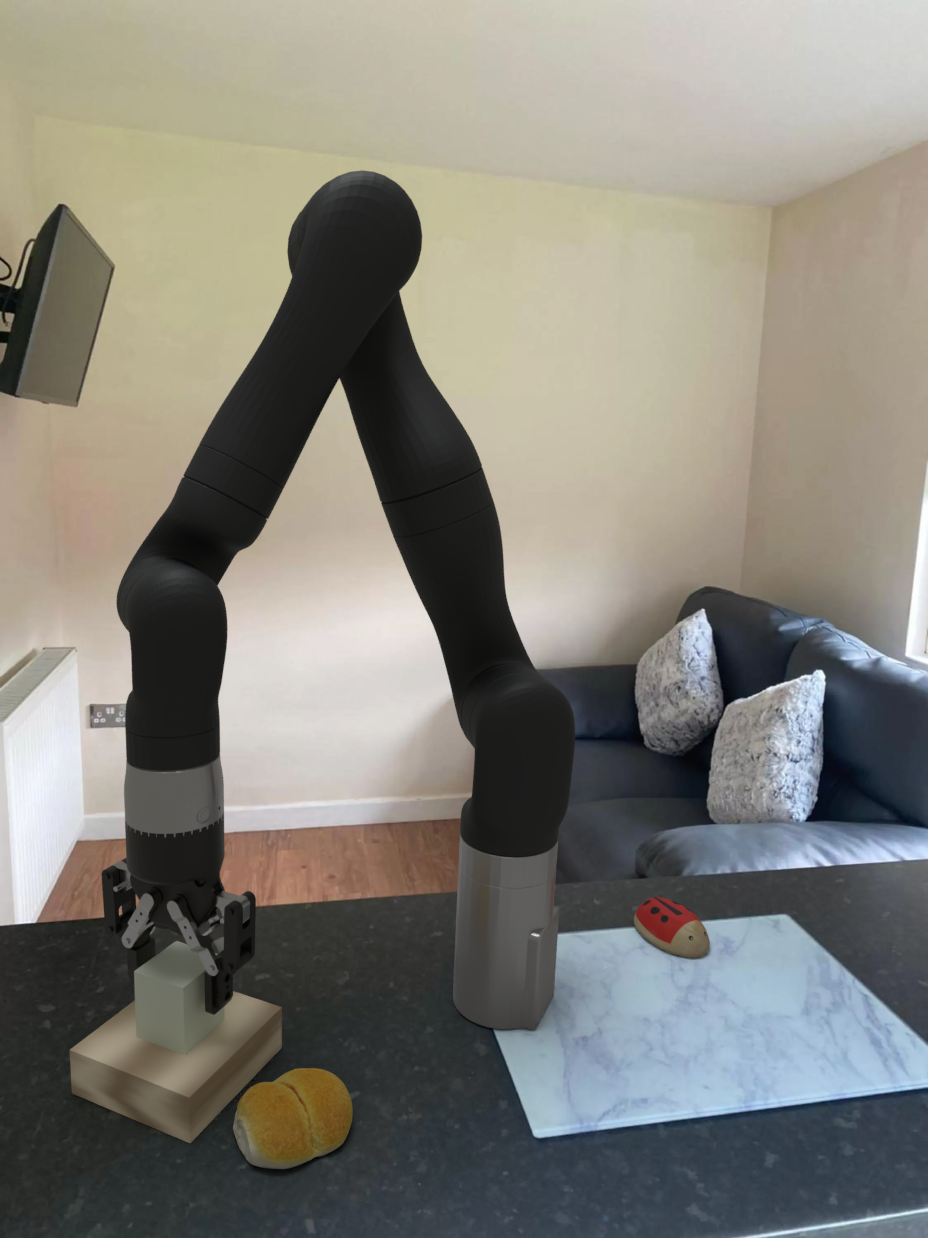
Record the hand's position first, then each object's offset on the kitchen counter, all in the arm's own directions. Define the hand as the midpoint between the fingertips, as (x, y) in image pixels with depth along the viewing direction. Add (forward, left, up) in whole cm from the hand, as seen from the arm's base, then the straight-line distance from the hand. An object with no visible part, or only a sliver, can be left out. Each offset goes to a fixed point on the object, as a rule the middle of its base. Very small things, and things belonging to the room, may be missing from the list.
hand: (179, 995), depth 72 cm
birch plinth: (0, 0, -7) cm, 7 cm away
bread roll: (-12, +2, -8) cm, 14 cm away
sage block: (0, 0, -3) cm, 3 cm away
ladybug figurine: (-34, -40, -8) cm, 53 cm away
